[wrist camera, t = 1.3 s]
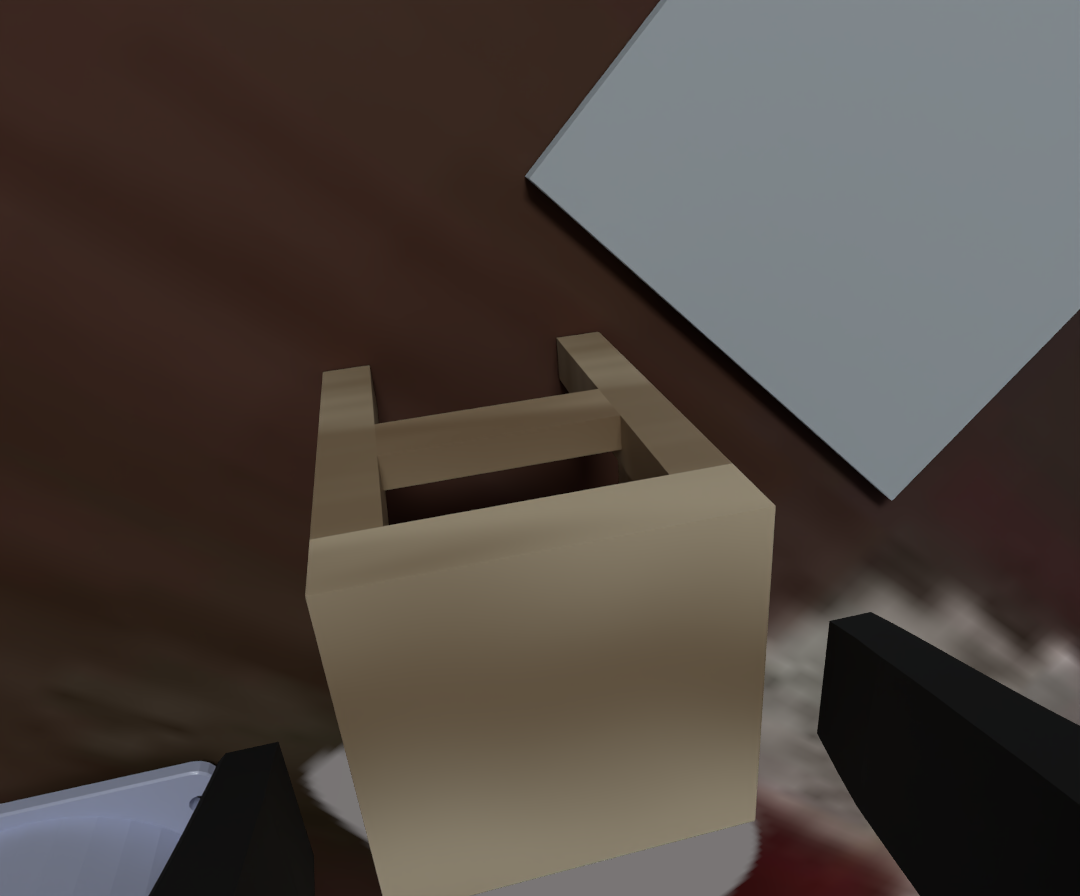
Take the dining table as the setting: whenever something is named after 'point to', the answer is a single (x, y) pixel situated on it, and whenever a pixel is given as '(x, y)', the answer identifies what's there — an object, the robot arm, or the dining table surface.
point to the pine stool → (539, 631)
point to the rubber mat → (845, 199)
